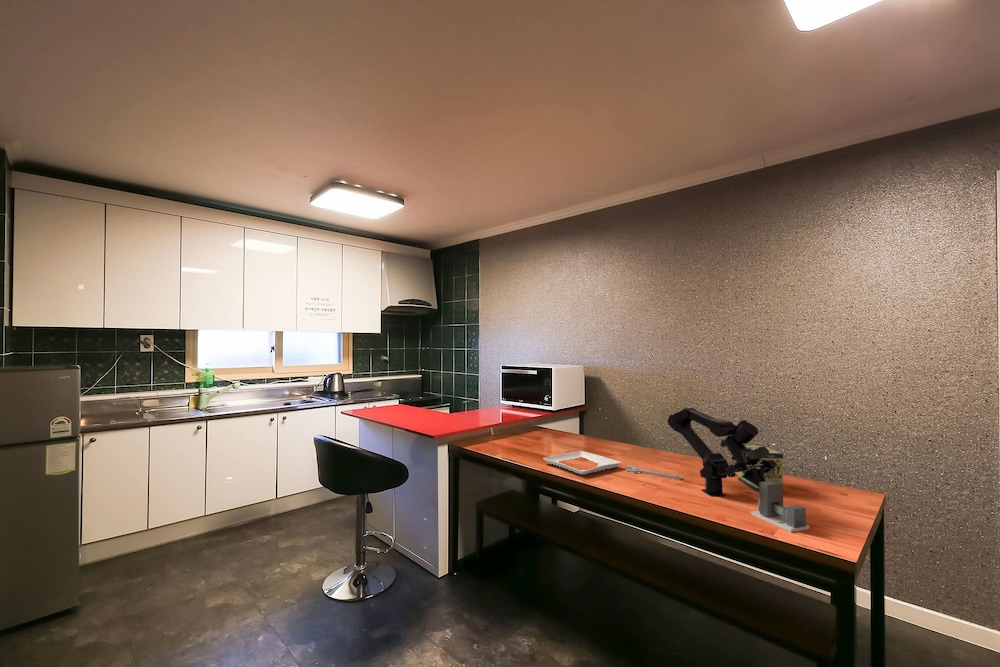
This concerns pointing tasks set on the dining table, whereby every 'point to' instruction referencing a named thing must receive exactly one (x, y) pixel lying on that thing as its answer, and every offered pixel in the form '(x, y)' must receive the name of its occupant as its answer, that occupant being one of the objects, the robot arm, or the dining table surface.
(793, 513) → the grey block cluster
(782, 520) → the white board
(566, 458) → the square plate
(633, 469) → the adjustable wrench
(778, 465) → the protein box
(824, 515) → the dining table surface
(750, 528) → the dining table surface
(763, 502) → the tall gray block
